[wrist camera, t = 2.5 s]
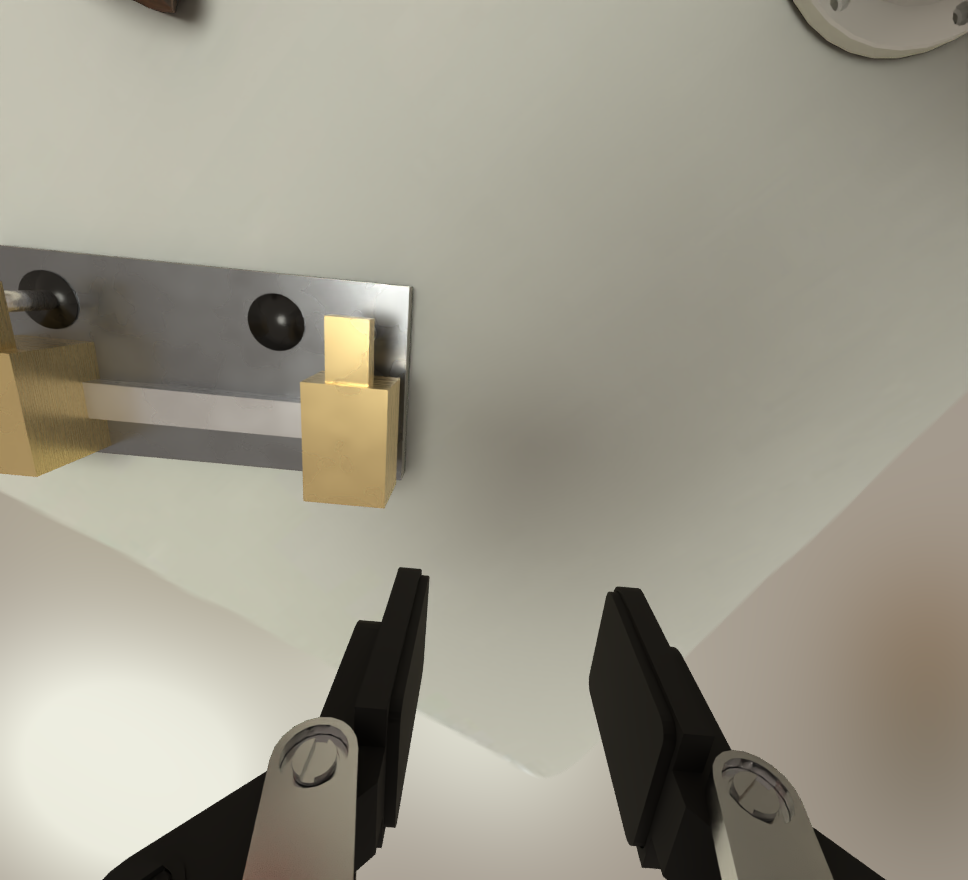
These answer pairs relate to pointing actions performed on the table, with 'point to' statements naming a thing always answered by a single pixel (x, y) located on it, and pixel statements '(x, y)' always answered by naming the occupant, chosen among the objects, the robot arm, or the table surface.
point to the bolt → (160, 5)
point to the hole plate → (172, 358)
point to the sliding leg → (349, 420)
